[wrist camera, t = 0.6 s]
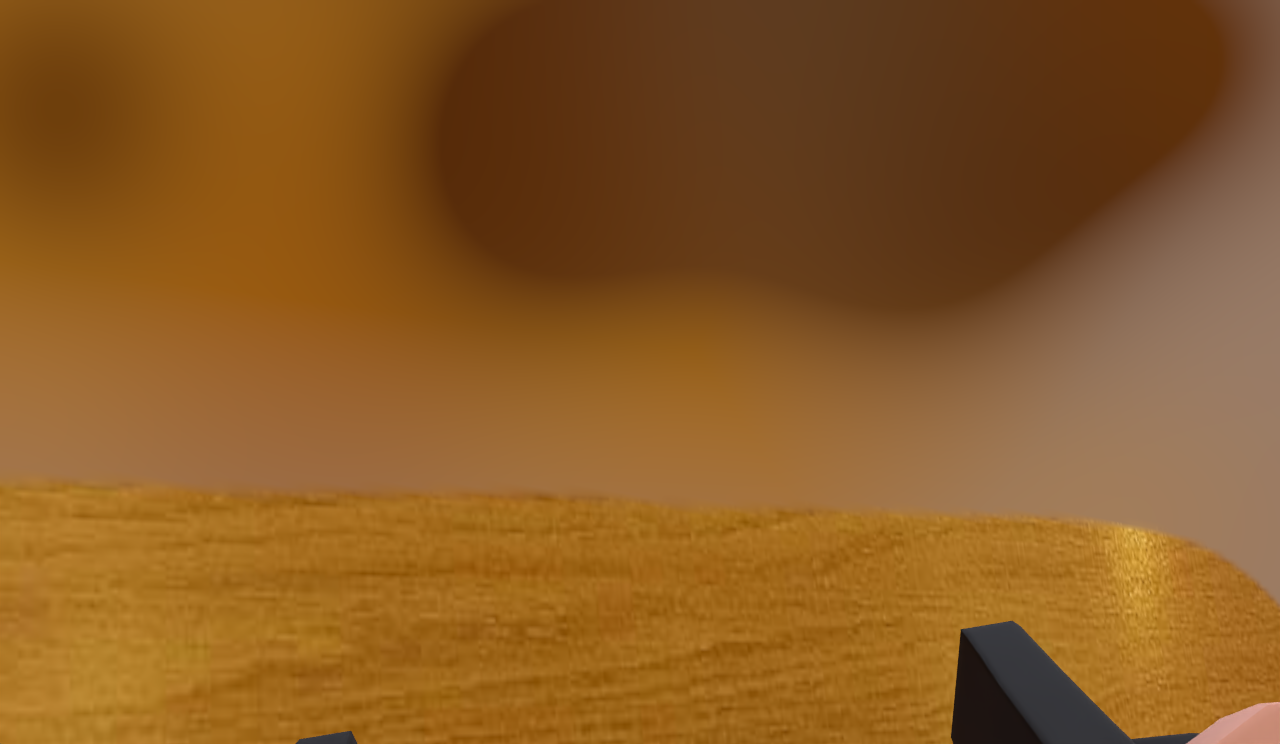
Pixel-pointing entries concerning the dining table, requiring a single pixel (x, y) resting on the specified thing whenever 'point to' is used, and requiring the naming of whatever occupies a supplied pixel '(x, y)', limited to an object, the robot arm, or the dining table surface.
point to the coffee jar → (1232, 729)
